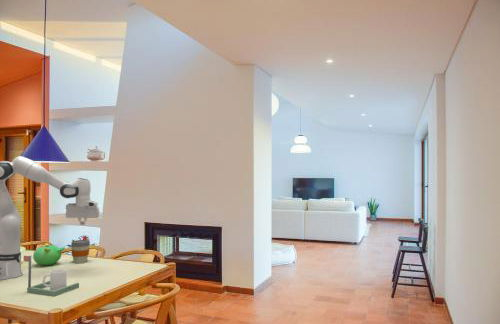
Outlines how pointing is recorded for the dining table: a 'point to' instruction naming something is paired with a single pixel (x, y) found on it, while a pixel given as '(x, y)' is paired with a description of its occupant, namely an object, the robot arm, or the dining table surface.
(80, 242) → the reusable coffee cup
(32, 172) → the robot arm
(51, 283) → the cup
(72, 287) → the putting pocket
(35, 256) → the green teapot
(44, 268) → the dining table surface
